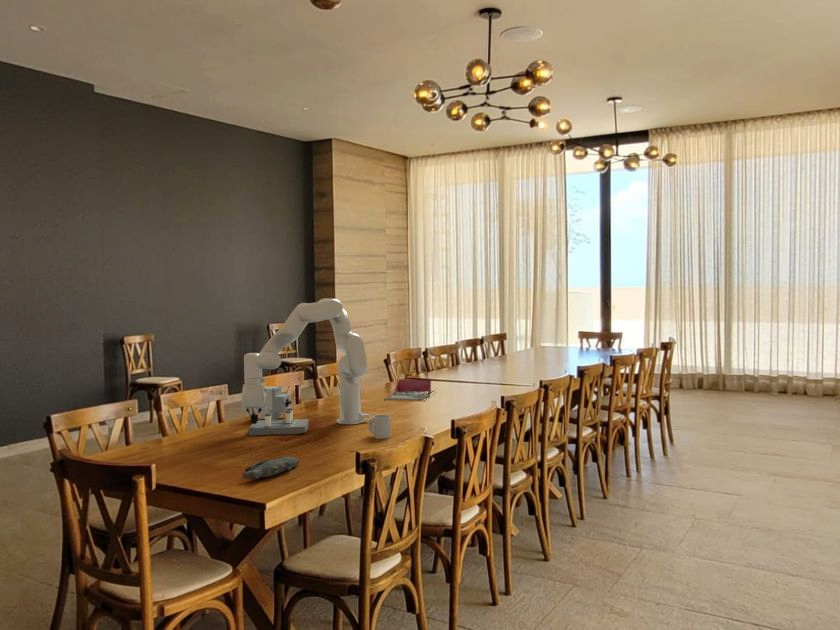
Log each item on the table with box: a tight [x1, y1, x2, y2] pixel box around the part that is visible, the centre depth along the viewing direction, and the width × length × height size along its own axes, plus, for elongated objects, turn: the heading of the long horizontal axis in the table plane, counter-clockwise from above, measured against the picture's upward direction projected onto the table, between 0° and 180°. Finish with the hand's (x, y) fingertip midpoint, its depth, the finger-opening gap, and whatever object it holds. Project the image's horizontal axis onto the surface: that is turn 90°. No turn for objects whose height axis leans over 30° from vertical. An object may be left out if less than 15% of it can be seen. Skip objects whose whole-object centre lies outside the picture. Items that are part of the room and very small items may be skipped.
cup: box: [368, 414, 392, 440], centre depth 294 cm, size 7×10×9 cm
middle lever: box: [284, 410, 291, 423], centre depth 311 cm, size 2×3×5 cm
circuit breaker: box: [259, 385, 292, 420], centre depth 338 cm, size 8×14×15 cm, turn 78°
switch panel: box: [248, 418, 309, 436], centre depth 311 cm, size 24×17×3 cm
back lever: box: [287, 407, 294, 420], centre depth 317 cm, size 2×3×5 cm
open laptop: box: [383, 379, 435, 401], centre depth 400 cm, size 24×35×8 cm
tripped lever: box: [265, 413, 271, 427], centre depth 304 cm, size 2×3×5 cm
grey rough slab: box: [241, 456, 300, 480], centre depth 241 cm, size 5×25×15 cm
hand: (254, 423), depth 304 cm, fingers closed
